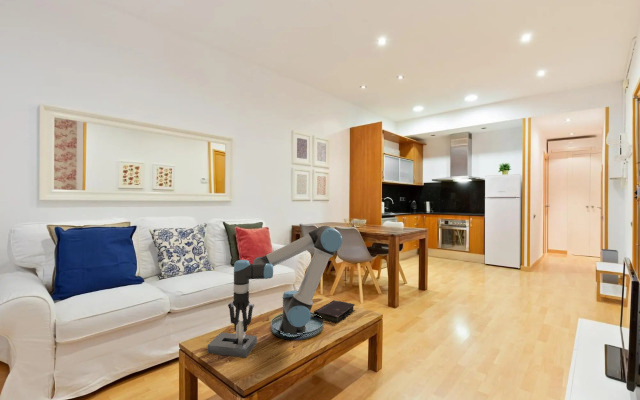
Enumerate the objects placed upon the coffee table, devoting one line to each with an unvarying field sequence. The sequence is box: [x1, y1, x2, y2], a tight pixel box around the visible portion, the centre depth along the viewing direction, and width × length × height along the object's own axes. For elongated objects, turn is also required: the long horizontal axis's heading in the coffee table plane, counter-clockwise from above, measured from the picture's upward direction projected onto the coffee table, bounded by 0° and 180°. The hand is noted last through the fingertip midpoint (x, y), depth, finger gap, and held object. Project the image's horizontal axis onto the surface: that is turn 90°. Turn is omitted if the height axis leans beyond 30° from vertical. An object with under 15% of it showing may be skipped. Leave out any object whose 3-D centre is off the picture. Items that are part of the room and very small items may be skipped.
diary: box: [313, 299, 356, 324], centre depth 202 cm, size 19×25×5 cm
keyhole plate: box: [207, 331, 258, 359], centre depth 155 cm, size 20×14×4 cm
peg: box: [237, 319, 245, 345], centre depth 155 cm, size 5×5×14 cm
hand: (240, 337), depth 155 cm, fingers closed on peg, 2 cm apart
